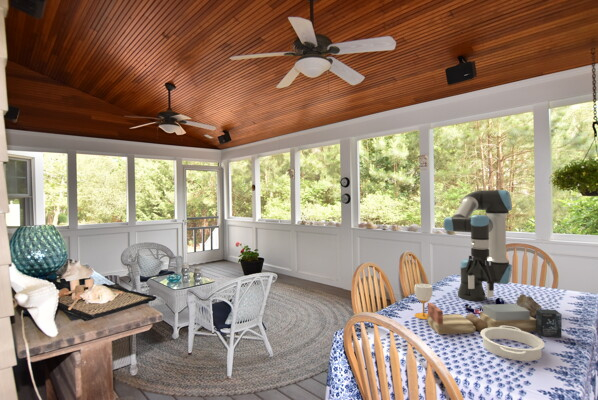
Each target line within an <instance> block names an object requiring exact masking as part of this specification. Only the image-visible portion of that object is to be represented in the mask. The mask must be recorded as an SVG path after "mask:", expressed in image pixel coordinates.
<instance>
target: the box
mask: <svg viewBox="0 0 598 400" xmlns="http://www.w3.org/2000/svg"><path fill="white" fill-rule="evenodd" d="M562 316H563V315H562V313H560V312H559V311H557V309H544V308H543V309H542V308H541V309H536V315H535V319H536V331H535V332H536V333H537V334H538V335H539V336H540V337H550V338H562V330H563V329H562V326H563V325H562Z"/></svg>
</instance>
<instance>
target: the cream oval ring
mask: <svg viewBox="0 0 598 400" xmlns="http://www.w3.org/2000/svg"><path fill="white" fill-rule="evenodd" d="M505 327H511V328H505ZM512 328H515V329H512ZM517 329H518V330H517ZM479 332H480V331H479ZM480 336H481V338H482V345H483V348H484V349H485V350H487V351H488V352H490V353H492V354H494V355H495V356H498V357H501V358H504V359H510V360H514V361H522V362H531V361H532V362H533V361H537V360H539V359H541V358H542V356H543V355H542V353H543V352H542V349H543V348H545V346H546V345H545V341H544V340H543V339H542V338H540V337H539V336H537V335H534V334H532V333H530V332H529V331H521V330H520V329H519V328H516V327H512V326H505V325H501V326H499V327H490V328H485V329H483V330H482V331H481V332H480ZM496 339H497V340H498V339H500V340H501V339H502V340H510V341H516V342H519V343H522V344H525V345H527V346H530V347H532V348H518V347H517V348H516V347H512V346H507V345H503V344H500V343H497V342H494V341H492V340H496Z"/></svg>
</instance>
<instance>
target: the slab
mask: <svg viewBox="0 0 598 400" xmlns="http://www.w3.org/2000/svg"><path fill="white" fill-rule="evenodd" d="M482 312H483V313H484V314H486V315H487V316H489V317H491V318H492V319H494V320H495V321H500V320H530V311H529V310H527V309H525V308H523V307H521V306H518V305H517V303H504V304H503V303H500V304H499V303H498V304H482Z"/></svg>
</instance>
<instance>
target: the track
mask: <svg viewBox="0 0 598 400" xmlns="http://www.w3.org/2000/svg"><path fill="white" fill-rule="evenodd" d="M427 314H428V320H427V325H429V327H431V328H432V330H433V331H435V332H436V334H438V335H446V334H447V335H449V334H451V335H452V334H453V335H454V334H455V335H456V334H474V332H476V330H477V329H476V327H475V326H473V323H472V322H470V321H469V320H468V319H466V316H463V315H462V314H461V313H452V314H451V313H450V314H446V313H445V314H444V311H443V310H442V309H440V308H439V307H438V306H437V305H435V304H434V303H433V302H427ZM479 318H480V319H481V320H483V321H484V322H486V323H487V325H488V328H490V327H499V326H501V325H505V326H512V327H516V328H519V329H520V330H521V331H525V332H536V318H534V317H533V316H532V317H530V320H500V321H495V320H494V319H492V318H491V317H489V316H487V315H486V314H484V313H483V311H482V312H481V311H480V312H479ZM505 328H511V327H505ZM512 329H515V328H512ZM517 330H518V329H517Z"/></svg>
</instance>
